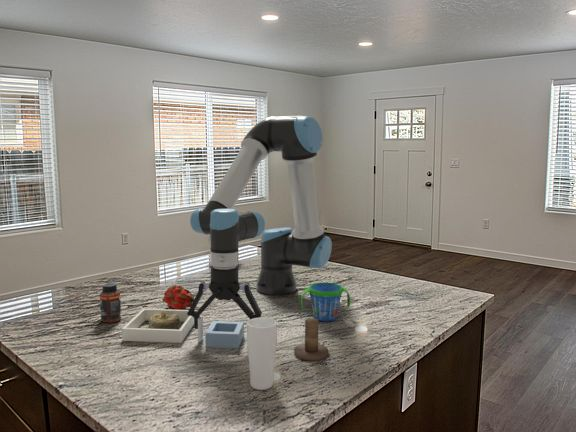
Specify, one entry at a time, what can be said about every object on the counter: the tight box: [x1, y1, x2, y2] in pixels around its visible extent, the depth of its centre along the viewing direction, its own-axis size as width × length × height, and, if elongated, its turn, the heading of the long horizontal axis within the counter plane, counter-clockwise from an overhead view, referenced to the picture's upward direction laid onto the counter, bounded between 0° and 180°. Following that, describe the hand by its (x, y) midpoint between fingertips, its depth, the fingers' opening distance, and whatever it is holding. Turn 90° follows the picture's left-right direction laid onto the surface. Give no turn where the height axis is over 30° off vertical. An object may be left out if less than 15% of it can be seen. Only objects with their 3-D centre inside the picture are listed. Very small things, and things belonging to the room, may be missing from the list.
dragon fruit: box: [161, 284, 195, 310], centre depth 161 cm, size 8×8×12 cm
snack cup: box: [300, 282, 351, 322], centre depth 154 cm, size 16×10×10 cm
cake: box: [147, 311, 182, 330], centre depth 145 cm, size 10×10×5 cm
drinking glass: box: [246, 316, 278, 391], centre depth 110 cm, size 7×7×15 cm
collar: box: [204, 320, 245, 349], centre depth 136 cm, size 9×9×4 cm
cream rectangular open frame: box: [121, 308, 197, 344], centre depth 143 cm, size 17×17×4 cm
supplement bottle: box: [99, 282, 122, 324], centre depth 150 cm, size 6×6×11 cm
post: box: [293, 317, 329, 362], centre depth 128 cm, size 9×9×9 cm
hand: (224, 340), depth 136 cm, fingers open, 13 cm apart
